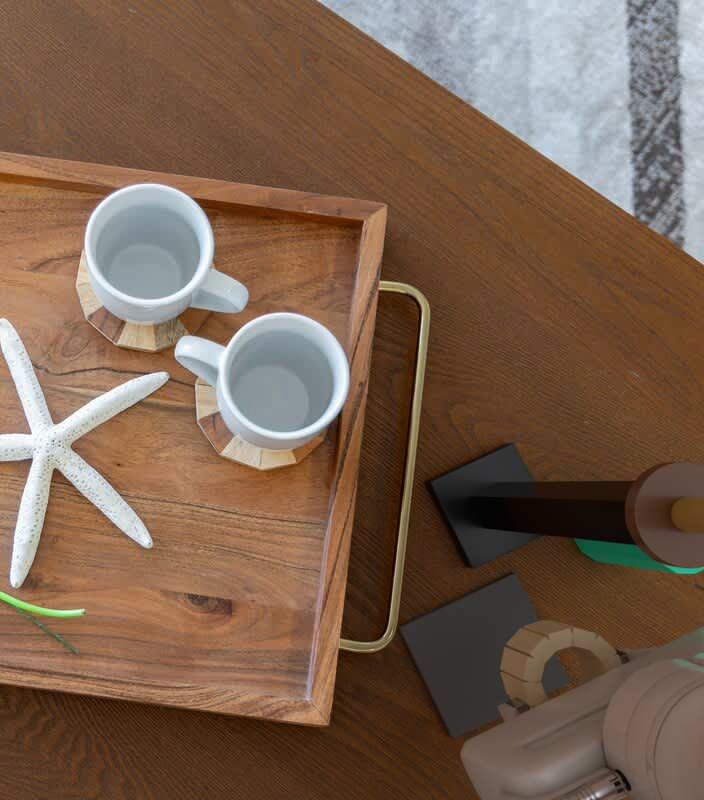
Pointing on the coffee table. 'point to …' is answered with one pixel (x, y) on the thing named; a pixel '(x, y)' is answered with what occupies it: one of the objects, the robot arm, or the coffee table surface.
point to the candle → (626, 556)
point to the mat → (473, 652)
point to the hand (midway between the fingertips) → (563, 686)
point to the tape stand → (570, 509)
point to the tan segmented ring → (539, 645)
